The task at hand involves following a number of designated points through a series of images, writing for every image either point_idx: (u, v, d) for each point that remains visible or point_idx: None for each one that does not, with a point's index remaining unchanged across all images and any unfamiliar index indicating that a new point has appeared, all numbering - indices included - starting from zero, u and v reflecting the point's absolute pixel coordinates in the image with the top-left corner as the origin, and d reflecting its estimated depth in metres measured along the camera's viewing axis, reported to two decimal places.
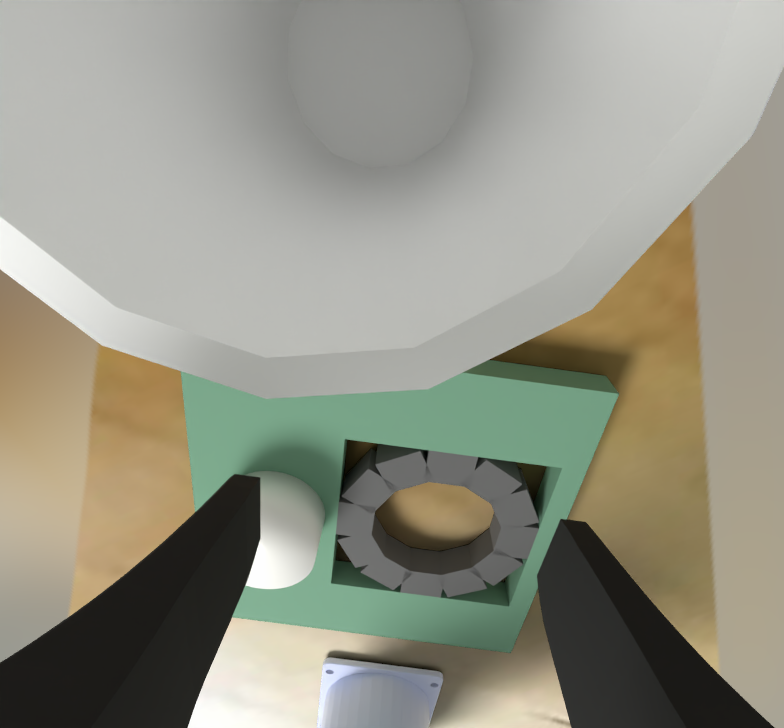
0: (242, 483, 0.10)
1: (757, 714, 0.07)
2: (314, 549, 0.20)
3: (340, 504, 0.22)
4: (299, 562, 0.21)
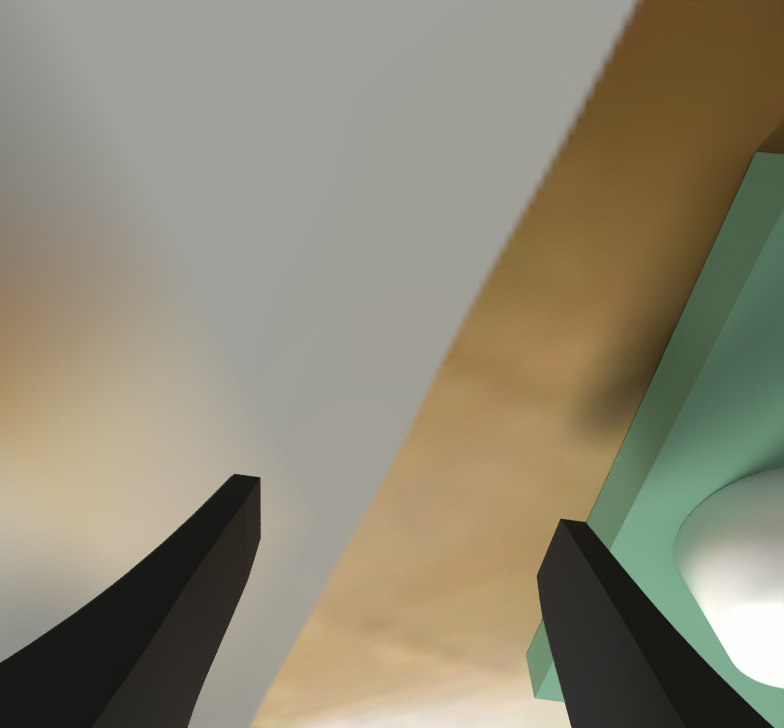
0: (242, 483, 0.10)
1: (757, 714, 0.07)
2: None
3: None
4: None
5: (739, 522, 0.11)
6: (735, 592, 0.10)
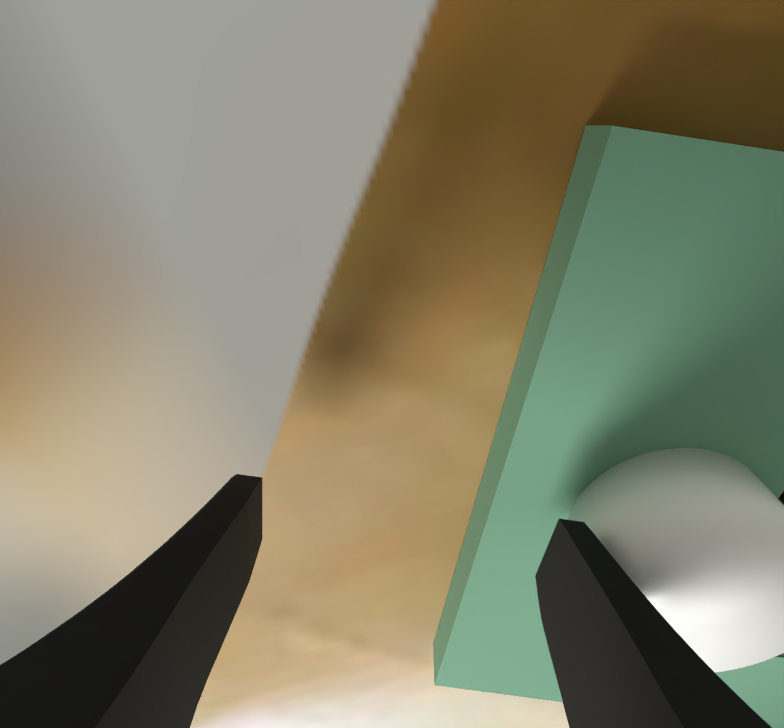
0: (244, 483, 0.10)
1: (754, 713, 0.07)
2: None
3: None
4: None
5: (615, 503, 0.11)
6: None
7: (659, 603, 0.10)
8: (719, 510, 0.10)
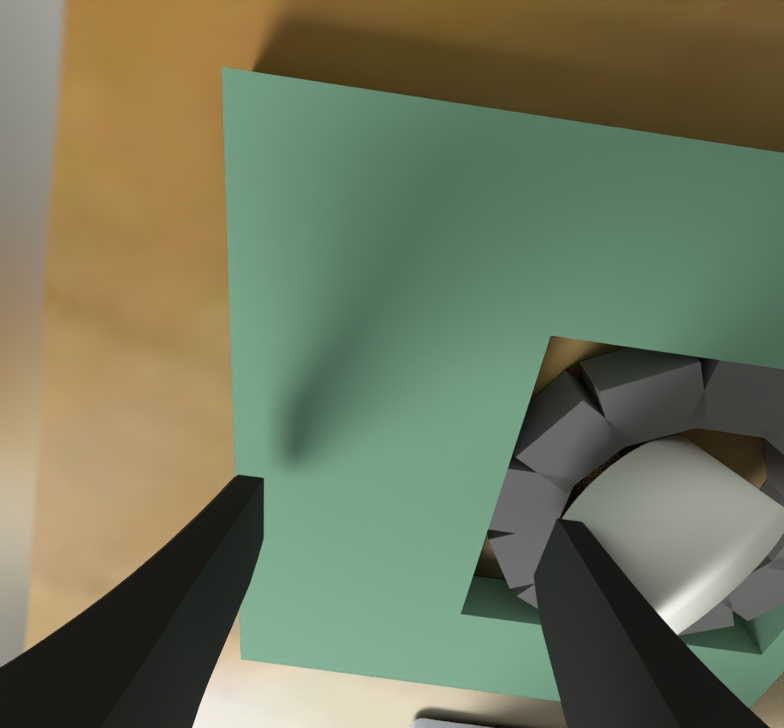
0: (246, 483, 0.10)
1: (752, 713, 0.07)
2: None
3: (509, 473, 0.12)
4: (744, 572, 0.12)
5: (612, 525, 0.10)
6: None
7: (671, 606, 0.10)
8: (718, 511, 0.10)
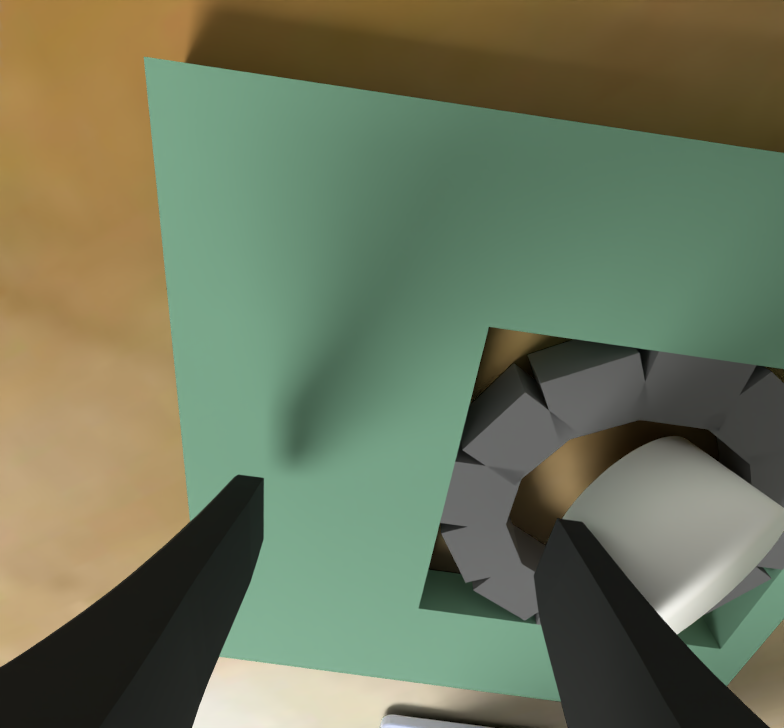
0: (245, 483, 0.10)
1: (752, 713, 0.07)
2: None
3: (457, 466, 0.12)
4: (742, 572, 0.12)
5: (613, 525, 0.10)
6: None
7: (671, 606, 0.10)
8: (718, 511, 0.10)
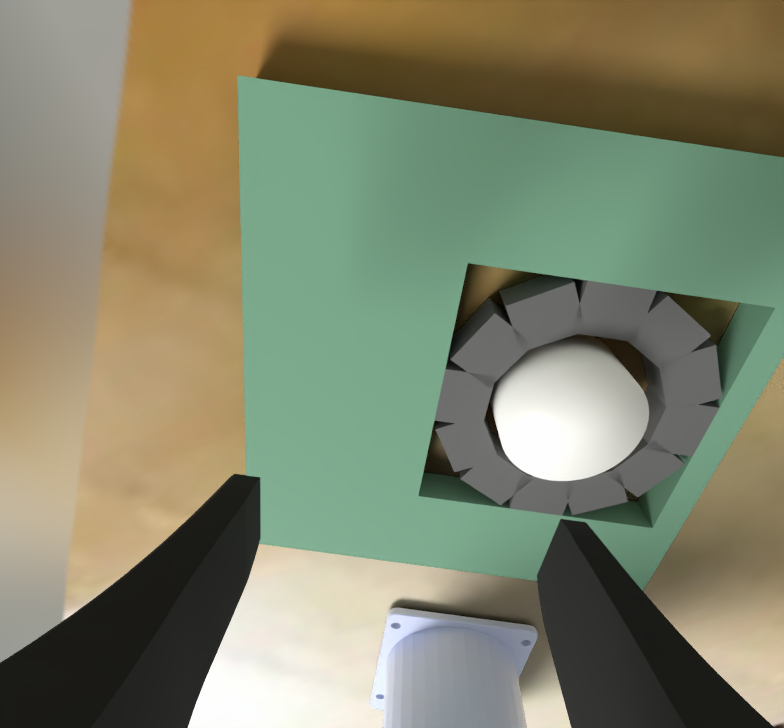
0: (242, 483, 0.10)
1: (757, 714, 0.07)
2: (646, 422, 0.16)
3: (446, 373, 0.16)
4: (620, 441, 0.16)
5: (513, 365, 0.17)
6: (502, 406, 0.16)
7: (538, 424, 0.16)
8: (569, 357, 0.15)
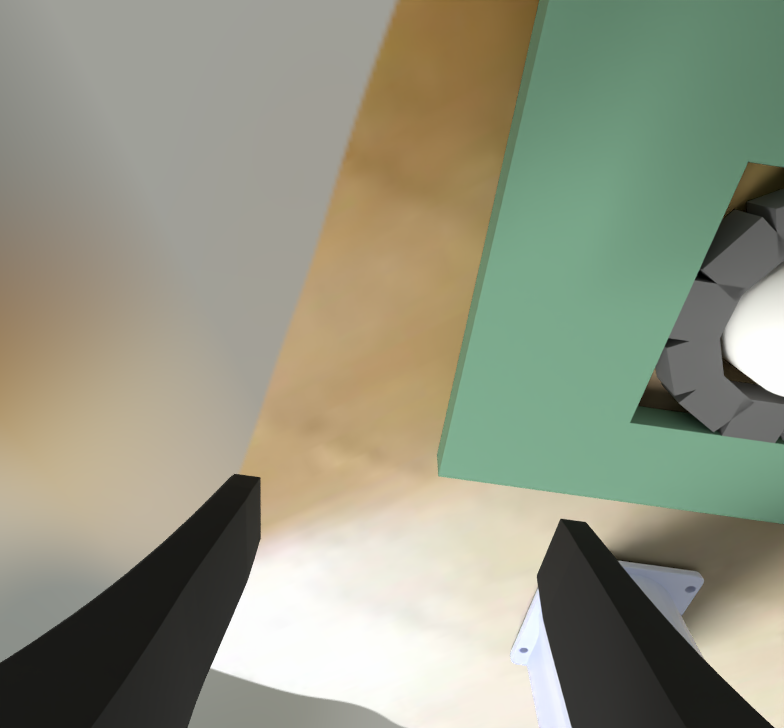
0: (242, 483, 0.10)
1: (757, 714, 0.07)
2: None
3: (694, 285, 0.16)
4: None
5: None
6: (755, 306, 0.16)
7: None
8: None
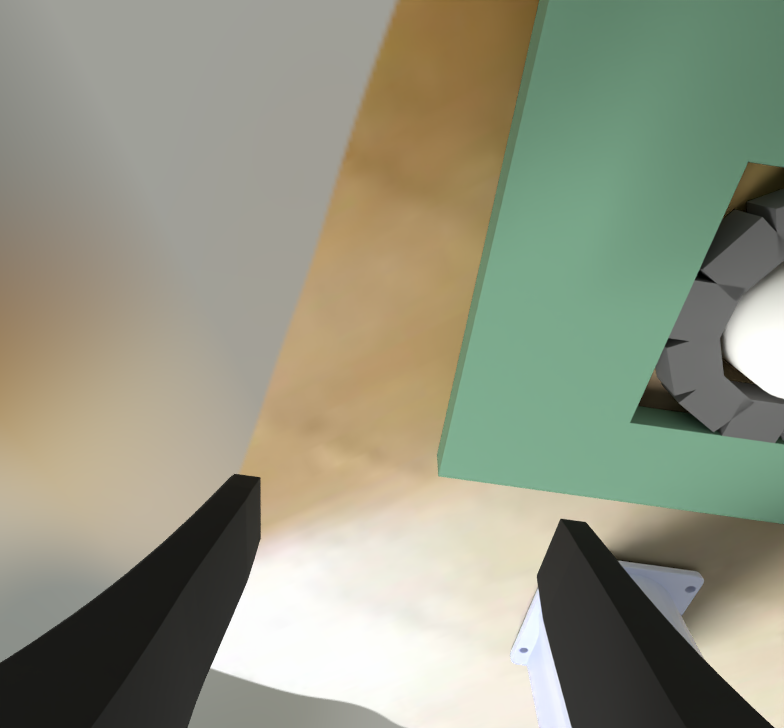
0: (242, 483, 0.10)
1: (757, 714, 0.07)
2: None
3: (694, 285, 0.16)
4: None
5: None
6: (765, 307, 0.15)
7: None
8: None
